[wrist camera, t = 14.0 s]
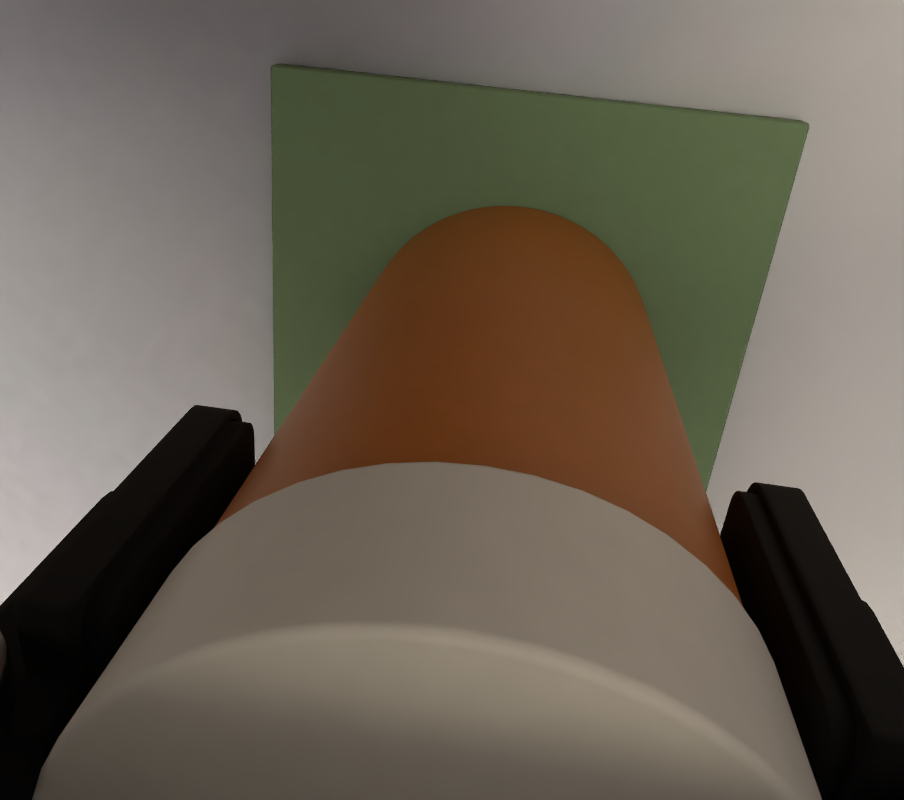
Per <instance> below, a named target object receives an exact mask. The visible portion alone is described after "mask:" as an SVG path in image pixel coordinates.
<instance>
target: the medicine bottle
mask: <svg viewBox="0 0 904 800" xmlns="http://www.w3.org/2000/svg"><path fill="white" fill-rule="evenodd" d="M32 800H822V798H821V795H820V793H819V790H818V787H817V784H816V781H815V778H814V775H813V772H812V770H811V767H810V764H809V761H808V758H807V755H806V752H805V750H804V747H803V744H802V741H801V738H800V735H799V732H798V729H797V727H796V724H795V721H794V718H793V715H792V712H791V709H790V706H789V704H788V701H787V698H786V695H785V692H784V689H783V686H782V684H781V681H780V678H779V675H778V672H777V669H776V666H775V663H774V661H773V659H772V657H771V655H770V653H769V651H768V649H767V646H766V644H765V642H764V640H763V638H762V636H761V634H760V632H759V630H758V628H757V627H756V625H755V624H754V622H753V621H752V619H751V618H750V617H749V615H748V614H747V612H746V611H745V609H744V608H743V605H742V602H741V599H740V595H739V592H738V589H737V586H736V583H735V580H734V577H733V574H732V571H731V568H730V565H729V562H728V559H727V556H726V553H725V550H724V547H723V544H722V541H721V538H720V535H719V532H718V529H717V526H716V522H715V519H714V516H713V513H712V510H711V507H710V504H709V501H708V498H707V495H706V492H705V489H704V486H703V483H702V480H701V477H700V474H699V471H698V468H697V465H696V462H695V459H694V456H693V453H692V449H691V446H690V443H689V440H688V437H687V434H686V431H685V428H684V425H683V422H682V419H681V416H680V413H679V410H678V407H677V404H676V401H675V398H674V395H673V392H672V389H671V386H670V383H669V380H668V376H667V373H666V370H665V367H664V364H663V361H662V358H661V355H660V352H659V349H658V346H657V343H656V340H655V337H654V334H653V331H652V328H651V325H650V322H649V319H648V316H647V313H646V310H645V307H644V304H643V300H642V297H641V295H640V293H639V291H638V288H637V286H636V284H635V282H634V280H633V278H632V276H631V275H630V273H629V272H628V270H627V269H626V267H625V266H624V264H623V263H622V262H621V260H620V259H619V258H618V257H617V256H616V255H615V253H614V252H613V251H612V250H611V249H610V248H609V247H608V246H607V245H605V244H604V243H603V242H602V241H601V240H600V239H599V238H598V237H596V236H595V235H593V234H592V233H590V232H589V231H587V230H586V229H584V228H583V227H581V226H580V225H578V224H576V223H574V222H572V221H570V220H567V219H565V218H563V217H561V216H558V215H555V214H552V213H549V212H546V211H543V210H537V209H532V208H527V207H518V206H493V207H482V208H477V209H472V210H468V211H463V212H460V213H458V214H455V215H452V216H449V217H446V218H444V219H442V220H440V221H438V222H436V223H434V224H432V225H430V226H429V227H427V228H425V229H424V230H423V231H421V232H420V233H418V234H417V235H416V236H414V237H413V238H412V239H410V240H409V241H408V242H407V243H406V244H405V245H404V246H403V247H402V248H401V249H400V250H399V251H398V252H397V253H396V254H395V256H394V257H393V258H392V259H391V261H390V262H389V263H388V264H387V266H386V267H385V269H384V270H383V272H382V273H381V275H380V276H379V278H378V279H377V281H376V282H375V284H374V285H373V287H372V289H371V290H370V292H369V293H368V295H367V296H366V298H365V299H364V301H363V302H362V304H361V305H360V307H359V308H358V310H357V311H356V313H355V314H354V316H353V317H352V319H351V320H350V322H349V323H348V325H347V326H346V328H345V330H344V331H343V333H342V334H341V336H340V337H339V339H338V340H337V342H336V343H335V345H334V346H333V348H332V349H331V351H330V352H329V354H328V355H327V357H326V358H325V360H324V361H323V363H322V364H321V366H320V368H319V369H318V371H317V372H316V374H315V375H314V377H313V378H312V380H311V381H310V383H309V384H308V386H307V387H306V389H305V390H304V392H303V393H302V395H301V396H300V398H299V399H298V401H297V402H296V404H295V405H294V407H293V409H292V410H291V412H290V413H289V415H288V416H287V418H286V419H285V421H284V422H283V424H282V425H281V427H280V428H279V430H278V431H277V433H276V434H275V436H274V437H273V439H272V440H271V442H270V443H269V445H268V447H267V448H266V450H265V451H264V453H263V454H262V456H261V457H260V459H259V460H258V462H257V463H256V465H255V466H254V468H253V469H252V471H251V472H250V474H249V475H248V477H247V478H246V480H245V481H244V483H243V484H242V486H241V488H240V489H239V491H238V492H237V494H236V495H235V497H234V498H233V500H232V501H231V503H230V504H229V506H228V507H227V509H226V510H225V512H224V513H223V515H222V516H221V518H220V519H219V521H218V522H217V524H216V525H215V527H214V529H212V530H211V531H210V532H209V533H208V534H207V535H205V536H204V537H203V538H202V539H201V540H200V541H198V542H197V543H196V544H195V545H194V546H193V547H192V548H191V549H190V550H189V552H188V553H187V554H186V555H185V556H184V558H183V559H182V560H181V561H180V562H179V564H178V565H177V566H176V567H175V568H174V570H173V571H172V572H171V573H170V575H169V576H168V578H167V579H166V581H165V582H164V584H163V585H162V587H161V588H160V590H159V591H158V592H157V594H156V595H155V597H154V598H153V600H152V601H151V603H150V604H149V606H148V607H147V609H146V610H145V611H144V613H143V614H142V616H141V617H140V619H139V620H138V622H137V623H136V625H135V626H134V628H133V629H132V631H131V632H130V633H129V635H128V636H127V638H126V639H125V641H124V642H123V644H122V645H121V647H120V648H119V650H118V651H117V653H116V654H115V655H114V657H113V658H112V660H111V661H110V663H109V664H108V666H107V667H106V669H105V670H104V672H103V673H102V674H101V676H100V677H99V679H98V680H97V682H96V683H95V685H94V686H93V688H92V689H91V691H90V692H89V694H88V695H87V696H86V698H85V699H84V701H83V702H82V704H81V705H80V707H79V708H78V710H77V711H76V713H75V714H74V716H73V717H72V718H71V720H70V721H69V723H68V724H67V726H66V727H65V729H64V730H63V732H62V733H61V735H60V736H59V737H58V739H57V741H56V743H55V745H54V747H53V748H52V750H51V752H50V754H49V756H48V757H47V759H46V761H45V763H44V765H43V767H42V768H41V771H40V775H39V778H38V781H37V785H36V788H35V792H34V795H33V799H32Z"/></svg>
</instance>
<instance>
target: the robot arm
mask: <svg viewBox="0 0 904 800" xmlns="http://www.w3.org/2000/svg"><path fill="white" fill-rule="evenodd" d="M254 466H255V448H254V429H253V426H252V424H251V423H246V422H242V419H241V415H240V413H239V412H238V411H236V410H229V409H222V408H215V407H207V406H200V405H195V406H193V407H192V408H191V409H190V410H189V411H188V412H187V413H186V414H185V415H184V416H183V417H182V418H181V419H180V421H179V422H178V423H177V424H176V425H175V426H174V427H173V428H172V429H171V430H170V431H169V432H168V433H167V434H166V436H165V437H164V438H163V439H162V440H161V441H160V442H159V443H158V444H157V445H156V446H155V447H154V448H153V449H152V451H151V452H150V453H149V454H148V455H147V456H146V457H145V458H144V459H143V460H142V461H141V462H140V463H139V464H138V465H137V467H136V468H135V469H134V470H133V471H132V472H131V473H130V474H129V475H128V476H127V477H126V478H125V479H124V480H123V482H122V483H121V484H120V485H119V486H118V487H117V488H116V489H115V490H114V491H111V492H109V493H108V494H107V495H105V496H104V497H103V498H102V499H101V500H100V501H99V502H98V503H97V504H96V505H95V506H94V507H93V508H92V509H91V510H90V511H89V512H88V513H87V514H86V516H85V517H84V518H83V519H82V520H81V521H80V522H79V523H78V524H77V525H76V526H75V527H74V528H73V529H72V530H71V531H70V532H69V534H68V535H67V536H66V537H65V538H64V539H63V540H62V541H61V542H60V543H59V544H58V545H57V546H56V547H55V548H54V549H53V550H52V552H51V553H50V554H49V555H48V556H47V557H46V558H45V559H44V560H43V561H42V562H41V563H40V564H39V565H38V566H37V567H36V568H35V570H34V571H33V572H32V573H31V574H30V575H29V576H28V577H27V578H26V579H25V580H24V581H23V582H22V583H21V584H20V585H19V586H18V588H17V589H16V590H15V591H14V592H13V593H12V594H11V595H10V596H9V597H8V598H7V599H6V600H5V601H4V602H3V603H2V604H1V606H0V800H32V799H33V795H34V792H35V788H36V785H37V781H38V778H39V775H40V771H41V768H42V767H43V765H44V763H45V761H46V759H47V757H48V756H49V754H50V752H51V750H52V748H53V747H54V745H55V743H56V741H57V739H58V737H59V736H60V735H61V733H62V732H63V730H64V729H65V727H66V726H67V724H68V723H69V721H70V720H71V718H72V717H73V716H74V714H75V713H76V711H77V710H78V708H79V707H80V705H81V704H82V702H83V701H84V699H85V698H86V696H87V695H88V694H89V692H90V691H91V689H92V688H93V686H94V685H95V683H96V682H97V680H98V679H99V677H100V676H101V674H102V673H103V672H104V670H105V669H106V667H107V666H108V664H109V663H110V661H111V660H112V658H113V657H114V655H115V654H116V653H117V651H118V650H119V648H120V647H121V645H122V644H123V642H124V641H125V639H126V638H127V636H128V635H129V633H130V632H131V631H132V629H133V628H134V626H135V625H136V623H137V622H138V620H139V619H140V617H141V616H142V614H143V613H144V611H145V610H146V609H147V607H148V606H149V604H150V603H151V601H152V600H153V598H154V597H155V595H156V594H157V592H158V591H159V590H160V588H161V587H162V585H163V584H164V582H165V581H166V579H167V578H168V576H169V575H170V573H171V572H172V571H173V570H174V568H175V567H176V566H177V565H178V564H179V562H180V561H181V560H182V559H183V558H184V556H185V555H186V554H187V553H188V552H189V550H190V549H191V548H192V547H193V546H194V545H195V544H196V543H197V542H198V541H200V540H201V539H202V538H203V537H204V536H205V535H207V534H208V533H209V532H210V531H211V530H212V529H214V527H215V525H216V524H217V522H218V521H219V519H220V518H221V516H222V515H223V513H224V512H225V510H226V509H227V507H228V506H229V504H230V503H231V501H232V500H233V498H234V497H235V495H236V494H237V492H238V491H239V489H240V488H241V486H242V484H243V483H244V481H245V480H246V478H247V477H248V475H249V474H250V472H251V471H252V469H253V468H254ZM720 538H721V541H722V544H723V547H724V550H725V553H726V556H727V559H728V562H729V565H730V568H731V571H732V574H733V577H734V580H735V583H736V586H737V589H738V592H739V595H740V599H741V602H742V605H743V608H744V609H745V611H746V612H747V614H748V615H749V617H750V618H751V619H752V621H753V622H754V624H755V625H756V627H757V628H758V630H759V632H760V634H761V636H762V638H763V640H764V642H765V644H766V646H767V649H768V651H769V653H770V655H771V657H772V659H773V661H774V663H775V666H776V669H777V672H778V675H779V678H780V681H781V684H782V686H783V689H784V692H785V695H786V698H787V701H788V704H789V706H790V709H791V712H792V715H793V718H794V721H795V724H796V727H797V729H798V732H799V735H800V738H801V741H802V744H803V747H804V750H805V752H806V755H807V758H808V761H809V764H810V767H811V770H812V772H813V775H814V778H815V781H816V784H817V787H818V790H819V793H820V795H821V798H822V800H904V667H903V665H902V663H901V662H900V660H899V658H898V656H897V654H896V652H895V651H894V649H893V647H892V645H891V643H890V641H889V640H888V638H887V636H886V634H885V632H884V630H883V629H882V627H881V625H880V623H879V621H878V619H877V618H876V616H875V614H874V612H873V611H872V609H871V608H870V607H869V605H868V604H867V603H866V602H864V601H862V600H861V599H860V597H859V595H858V593H857V591H856V589H855V587H854V586H853V584H852V582H851V580H850V578H849V576H848V574H847V573H846V571H845V569H844V567H843V565H842V563H841V561H840V559H839V558H838V556H837V554H836V552H835V550H834V548H833V546H832V545H831V543H830V541H829V539H828V537H827V535H826V533H825V532H824V530H823V528H822V526H821V524H820V522H819V520H818V518H817V517H816V515H815V513H814V511H813V509H812V507H811V505H810V504H809V502H808V500H807V498H806V496H805V494H804V493H803V491H802V490H801V489H798V488H792V487H785V486H777V485H770V484H763V483H756V482H755V483H753V484H751V486H750V487H749V489H748V491H747V492H741V491H737V492H735V493H734V495H733V496H732V499H731V502H730V505H729V508H728V511H727V515H726V518H725V521H724V525H723V528H722V531H721V535H720Z"/></svg>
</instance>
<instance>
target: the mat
mask: <svg viewBox="0 0 904 800" xmlns="http://www.w3.org/2000/svg"><path fill="white" fill-rule="evenodd" d="M808 130H809V124H808V123H806V122H803V121H800V120H791V119H782V118H772V117H763V116H754V115H745V114H736V113H727V112H718V111H708V110H699V109H690V108H681V107H672V106H663V105H654V104H644V103H635V102H626V101H617V100H608V99H599V98H590V97H581V96H571V95H562V94H553V93H544V92H535V91H526V90H517V89H507V88H498V87H489V86H480V85H471V84H462V83H453V82H443V81H434V80H425V79H416V78H407V77H398V76H389V75H380V74H370V73H361V72H352V71H343V70H334V69H325V68H316V67H306V66H297V65H288V64H275V65H272V66H271V133H272V234H273V334H274V435H275V434H276V433H277V431H278V430H279V428H280V427H281V425H282V424H283V422H284V421H285V419H286V418H287V416H288V415H289V413H290V412H291V410H292V409H293V407H294V405H295V404H296V402H297V401H298V399H299V398H300V396H301V395H302V393H303V392H304V390H305V389H306V387H307V386H308V384H309V383H310V381H311V380H312V378H313V377H314V375H315V374H316V372H317V371H318V369H319V368H320V366H321V364H322V363H323V361H324V360H325V358H326V357H327V355H328V354H329V352H330V351H331V349H332V348H333V346H334V345H335V343H336V342H337V340H338V339H339V337H340V336H341V334H342V333H343V331H344V330H345V328H346V326H347V325H348V323H349V322H350V320H351V319H352V317H353V316H354V314H355V313H356V311H357V310H358V308H359V307H360V305H361V304H362V302H363V301H364V299H365V298H366V296H367V295H368V293H369V292H370V290H371V289H372V287H373V285H374V284H375V282H376V281H377V279H378V278H379V276H380V275H381V273H382V272H383V270H384V269H385V267H386V266H387V264H388V263H389V262H390V261H391V259H392V258H393V257H394V256H395V254H396V253H397V252H398V251H399V250H400V249H401V248H402V247H403V246H404V245H405V244H406V243H407V242H408V241H409V240H410V239H412V238H413V237H414V236H416V235H417V234H418V233H420V232H421V231H423V230H424V229H425V228H427V227H429V226H430V225H432V224H434V223H436V222H438V221H440V220H442V219H444V218H446V217H449V216H452V215H455V214H458V213H460V212H463V211H468V210H472V209H477V208H482V207H493V206H518V207H527V208H532V209H537V210H543V211H546V212H549V213H552V214H555V215H558V216H561V217H563V218H565V219H567V220H570V221H572V222H574V223H576V224H578V225H580V226H581V227H583V228H584V229H586V230H587V231H589V232H590V233H592V234H593V235H595V236H596V237H598V238H599V239H600V240H601V241H602V242H603V243H604V244H605V245H607V246H608V247H609V248H610V249H611V250H612V251H613V252H614V253H615V255H616V256H617V257H618V258H619V259H620V260H621V262H622V263H623V264H624V266H625V267H626V269H627V270H628V272H629V273H630V275H631V276H632V278H633V280H634V282H635V284H636V286H637V288H638V291H639V293H640V295H641V297H642V300H643V304H644V307H645V310H646V313H647V316H648V319H649V322H650V325H651V328H652V331H653V334H654V337H655V340H656V343H657V346H658V349H659V352H660V355H661V358H662V361H663V364H664V367H665V370H666V373H667V376H668V380H669V383H670V386H671V389H672V392H673V395H674V398H675V401H676V404H677V407H678V410H679V413H680V416H681V419H682V422H683V425H684V428H685V431H686V434H687V437H688V440H689V443H690V446H691V449H692V453H693V456H694V459H695V462H696V465H697V468H698V471H699V474H700V477H701V480H702V483H703V486H704V489H705V492H706V490H707V486H708V483H709V479H710V476H711V472H712V468H713V465H714V461H715V458H716V454H717V451H718V447H719V444H720V440H721V437H722V433H723V430H724V426H725V423H726V419H727V416H728V412H729V408H730V405H731V401H732V398H733V394H734V391H735V387H736V384H737V380H738V377H739V373H740V370H741V366H742V363H743V359H744V356H745V352H746V348H747V345H748V341H749V338H750V334H751V331H752V327H753V324H754V320H755V317H756V313H757V310H758V306H759V303H760V299H761V295H762V292H763V288H764V285H765V281H766V278H767V274H768V271H769V267H770V264H771V260H772V257H773V253H774V250H775V246H776V243H777V239H778V235H779V232H780V228H781V225H782V221H783V218H784V214H785V211H786V207H787V204H788V200H789V197H790V193H791V190H792V186H793V183H794V179H795V175H796V172H797V168H798V165H799V161H800V158H801V154H802V151H803V147H804V144H805V140H806V137H807V133H808Z"/></svg>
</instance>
